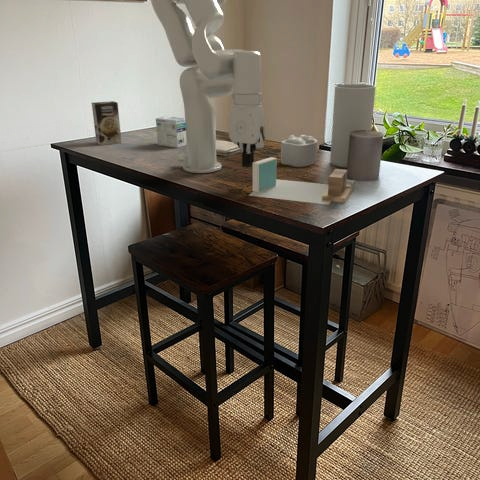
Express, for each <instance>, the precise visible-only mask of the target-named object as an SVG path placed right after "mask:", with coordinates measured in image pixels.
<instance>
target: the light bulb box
mask: <svg viewBox="0 0 480 480" xmlns="http://www.w3.org/2000/svg"><path fill="white" fill-rule="evenodd" d="M155 126H156V136H157V138H156V139H157V146H162V147H164V146H165V147H170V148H181V147H185V146H187V142H186V125H185V117H179V116H168V115H164V116H161V117H155Z"/></svg>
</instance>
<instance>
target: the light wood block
mask: <svg viewBox="0 0 480 480" xmlns="http://www.w3.org/2000/svg"><path fill="white" fill-rule="evenodd" d="M354 183H355V180H352V179H348V178H347V169H340V168H334V170H333V171H332V173H330V175H329V176H328V195H331V196H341V194H342V193H343V191H344V190H345V189H346V188H351V187H352V185H353V186H354Z"/></svg>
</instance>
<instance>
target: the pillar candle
mask: <svg viewBox="0 0 480 480" xmlns="http://www.w3.org/2000/svg"><path fill="white" fill-rule="evenodd" d="M384 135H385V133H383V132H381V131H378V130H372V129H371V130H367V129H366V130H356V131H352V132H350V138H349V150H348V161H347V168H346V170H347V179H348V180H354V181H357V182H358V181H359V182H372V181H373V182H374V181H377V180H378V179H379V178H380V172H381V171H380V170H381V162H382V161H381V160H382V159H381V158H382V151H383V143H384Z"/></svg>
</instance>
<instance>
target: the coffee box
mask: <svg viewBox="0 0 480 480" xmlns="http://www.w3.org/2000/svg"><path fill="white" fill-rule="evenodd" d="M91 108H92V115H93V124H94V126H93V127H94V133H95V141H96V143H97V144H98V145H99V146H105V145H113V144H114V145H115V144H122V143H123V141H122V133H121V123H120V113H119V105H118V102H116V101H100V102H99V101H97V102H91Z"/></svg>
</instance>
